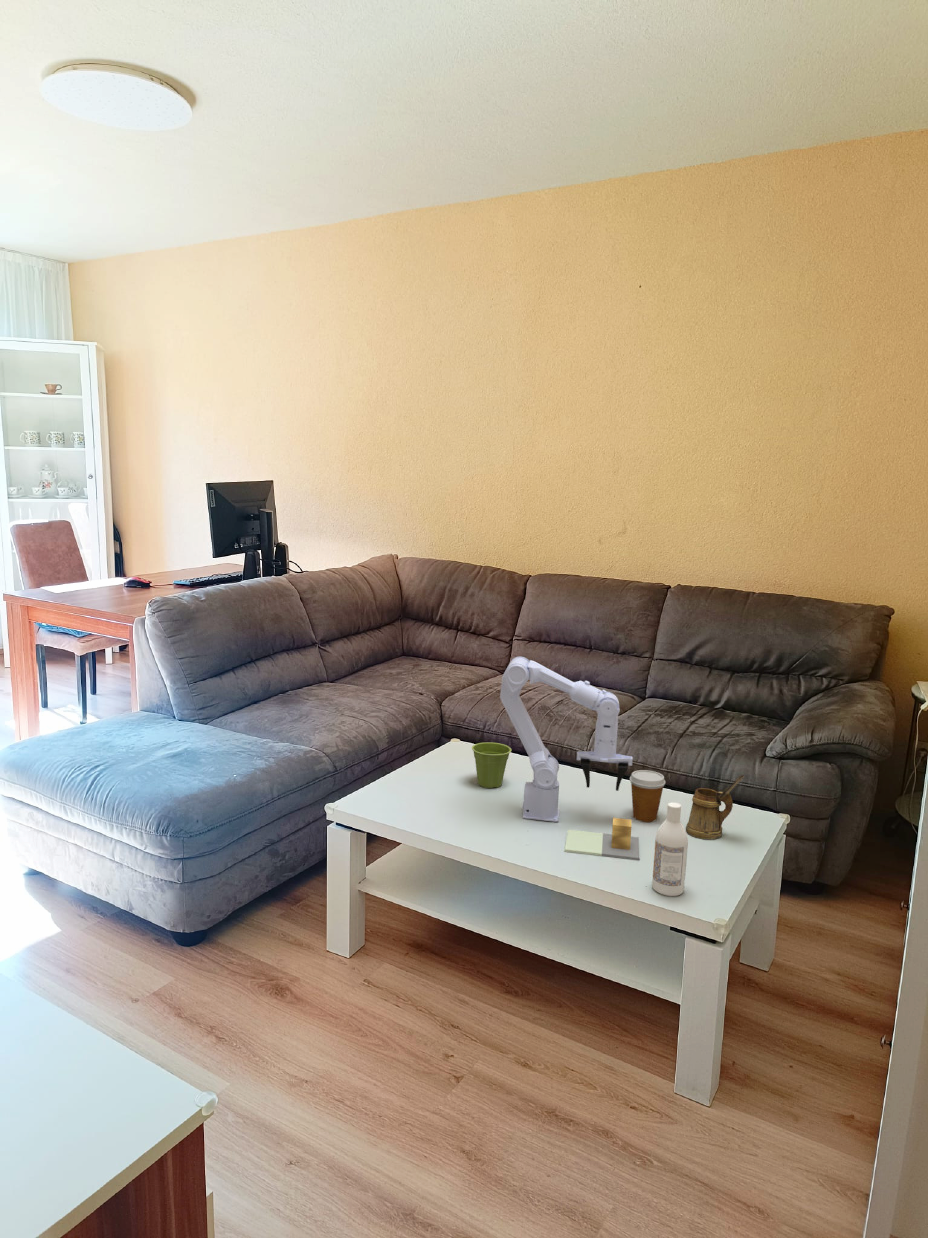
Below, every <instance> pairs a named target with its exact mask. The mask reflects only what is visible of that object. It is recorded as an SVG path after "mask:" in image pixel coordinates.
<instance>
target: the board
mask: <svg viewBox="0 0 928 1238" xmlns="http://www.w3.org/2000/svg"><path fill="white" fill-rule="evenodd" d="M565 839H566V840H565V846H564V852H565V853H572V854H581V855H590V856H597V857H599V856H600V857H609V858H615V859H616V858H617V859H618V858H619V859H625V860H626V859H627V860H634V861H640V843H639V841H640V839H639V837H638V836H631V842H630V850H626V849H617V848H611V846H612V833H604V832H593V831H585V830H584V831H583V830H574V829H567V833H566V837H565Z"/></svg>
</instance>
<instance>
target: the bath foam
mask: <svg viewBox="0 0 928 1238" xmlns="http://www.w3.org/2000/svg"><path fill="white" fill-rule="evenodd" d="M681 812H682V804H680V803H679V802H668V803H667V806H666V819H665V820H664V821H663V822H662V824H661V825H660V826H659V827H658V829H657V831H656V834H655V841H654V854H653V855H654V856H653V870H652V881H651V882H652V883H651V885H652V886H651V887H652V888H653V890H654V891H655V892H657V893H658V894H661V895H663V896H667V897H676V896H679V895H682V894H683V893H684V890H685V882H686V872H687V871H686V869H687V858H688V844H689V840H688V833H687V832H686V828H685V827H684V826H683V824H682V821H681V815H682V813H681Z"/></svg>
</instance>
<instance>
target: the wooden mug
mask: <svg viewBox="0 0 928 1238" xmlns="http://www.w3.org/2000/svg"><path fill="white" fill-rule="evenodd" d="M744 778H745V776H744V774H742V775H739V777H738V778H736V780H735V781H734V782H732V784H731V785H730V786H729V787H727V788H725V790H723V791H717V790H714V789H711V788H706V787H700V788H696V789H695V791H694V794H693V796H692V797H691V798H692V799H691V801H692V804H691V808H690V809H691V810H690V813H689V818H688V822H686V823H687V824H686V826H685V831H686V834H687V835H689V836H691V837H694V838H696V839H697V838H698V839H702V840H710V841H711V840H716V839H719V838H720V837H722V835H723V827H722V825H723V822H724V820H726V818H728V816H729V815H730V814H731V812H732V810H733V807H734V804H733V798H732V796H731V794H730V793H731V791H732V790H733V789H734V788H735V787H736V786H737V785H738V784H739V783H740V782H741V781H742V780H743V779H744ZM722 803H723V804H724V805H725V807H724V810H720V806H722Z"/></svg>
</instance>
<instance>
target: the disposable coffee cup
mask: <svg viewBox="0 0 928 1238" xmlns="http://www.w3.org/2000/svg"><path fill="white" fill-rule="evenodd" d="M629 781H630V786H631V800H632V801H631V803H632V804H631V805H632V817H633V818H634V819H635V820H637V821H639V822H643V823H651V822H656V821H657V818H658V814H659V810H660V809H659V808H660V803H661V799H662V793H663V790H664V786H665V785H666V780H665V776H664V775H663V774H662V773H660V772H658V771H657V772H656V771H655V770H647V769H645V770H644V769H640V770H634V771H633V772H631V775H630V777H629Z"/></svg>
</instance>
